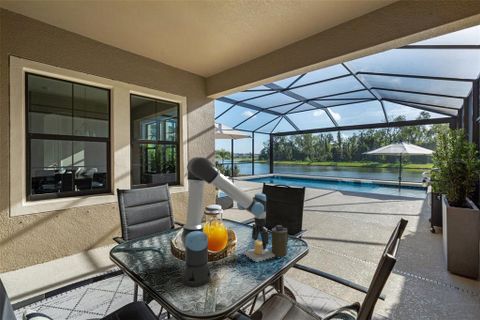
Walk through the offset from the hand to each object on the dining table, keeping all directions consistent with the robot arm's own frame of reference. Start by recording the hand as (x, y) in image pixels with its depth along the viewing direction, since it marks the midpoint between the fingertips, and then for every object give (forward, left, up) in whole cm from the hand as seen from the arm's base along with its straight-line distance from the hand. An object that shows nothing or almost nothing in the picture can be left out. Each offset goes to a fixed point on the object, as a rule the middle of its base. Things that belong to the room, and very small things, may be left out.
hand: (259, 251), depth 146 cm
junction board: (0, 0, -3) cm, 3 cm away
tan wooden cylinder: (0, 0, 0) cm, 0 cm away
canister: (+12, -6, -3) cm, 14 cm away
